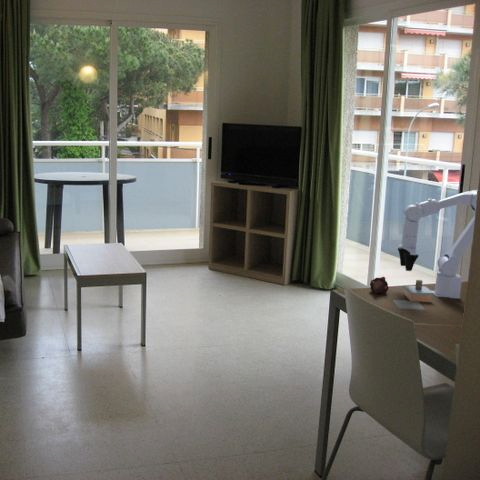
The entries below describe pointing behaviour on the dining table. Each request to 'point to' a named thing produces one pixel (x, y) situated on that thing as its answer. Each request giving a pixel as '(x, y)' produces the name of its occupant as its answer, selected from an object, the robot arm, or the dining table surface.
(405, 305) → the mat
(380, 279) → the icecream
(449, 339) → the dining table surface
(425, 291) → the lid
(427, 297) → the orange open box
